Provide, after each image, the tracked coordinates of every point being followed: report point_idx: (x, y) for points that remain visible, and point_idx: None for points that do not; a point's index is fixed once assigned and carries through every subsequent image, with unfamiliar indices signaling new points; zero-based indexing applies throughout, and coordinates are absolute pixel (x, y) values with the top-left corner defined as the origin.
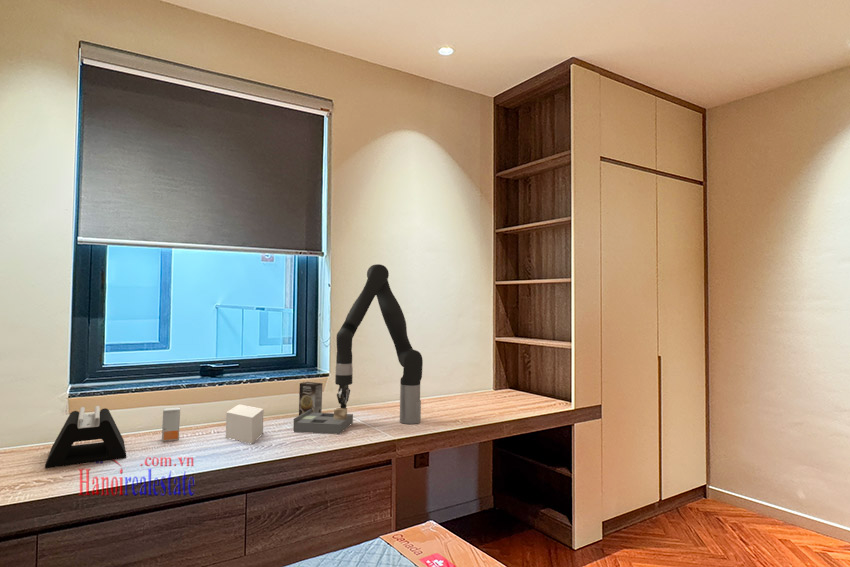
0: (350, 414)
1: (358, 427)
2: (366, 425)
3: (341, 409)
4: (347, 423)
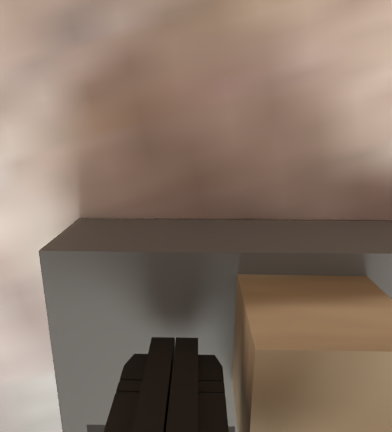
0: (63, 275)
1: (240, 114)
2: (137, 48)
3: (377, 407)
4: (276, 232)
